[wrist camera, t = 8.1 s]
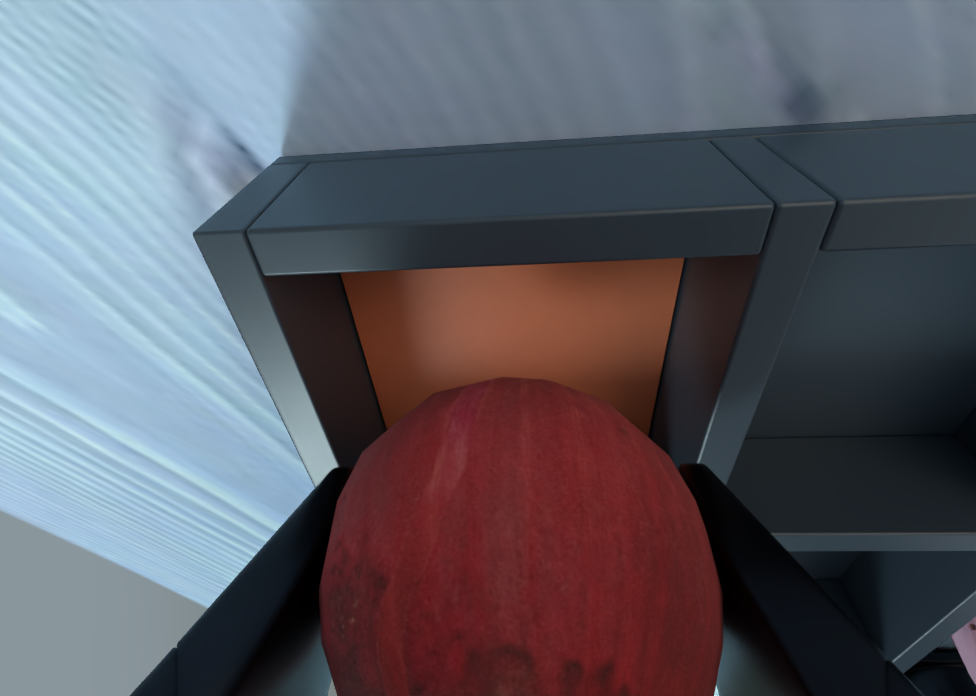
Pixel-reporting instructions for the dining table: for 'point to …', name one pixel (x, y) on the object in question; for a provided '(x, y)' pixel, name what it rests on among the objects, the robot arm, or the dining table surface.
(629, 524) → the onion
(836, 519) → the grid
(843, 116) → the dining table surface
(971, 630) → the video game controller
